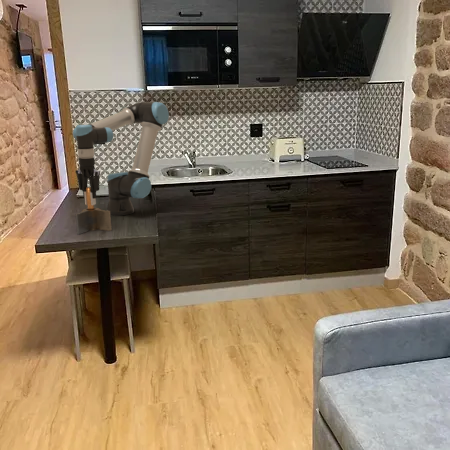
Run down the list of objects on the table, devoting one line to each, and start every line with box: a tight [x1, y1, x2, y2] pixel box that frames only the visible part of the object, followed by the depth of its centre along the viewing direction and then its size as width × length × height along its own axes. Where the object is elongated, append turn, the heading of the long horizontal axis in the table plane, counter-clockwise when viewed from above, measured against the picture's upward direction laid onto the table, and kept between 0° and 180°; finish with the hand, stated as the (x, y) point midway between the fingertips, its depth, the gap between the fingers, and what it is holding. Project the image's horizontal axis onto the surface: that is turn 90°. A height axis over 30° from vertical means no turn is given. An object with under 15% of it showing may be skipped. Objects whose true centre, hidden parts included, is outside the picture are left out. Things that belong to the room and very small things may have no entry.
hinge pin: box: [86, 186, 95, 211], centre depth 235 cm, size 3×3×19 cm
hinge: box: [75, 207, 112, 235], centre depth 232 cm, size 14×14×10 cm
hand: (90, 204), depth 235 cm, fingers closed on hinge pin, 3 cm apart
